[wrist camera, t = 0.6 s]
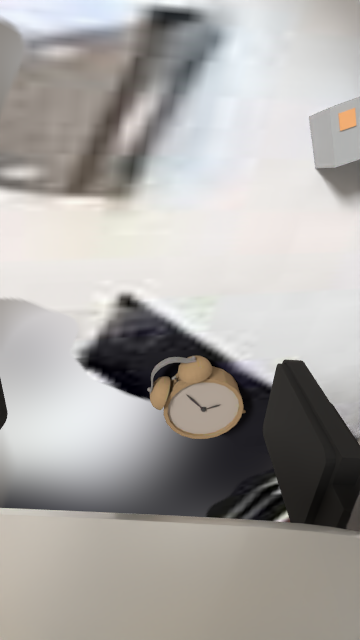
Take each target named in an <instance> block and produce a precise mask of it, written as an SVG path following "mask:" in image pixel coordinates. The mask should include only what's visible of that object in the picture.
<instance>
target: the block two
mask: <svg viewBox="0 0 360 640" xmlns="http://www.w3.org/2000/svg"><path fill="white" fill-rule="evenodd" d="M309 122H310V130H311V138H312V145H313V153H314V161H315V168H336V167H339V166H342V165H345V164H348V163H351V162H354V161H357V160H360V97H358V98H355V99H352V100H349V101H347V102H344V103H341V104H338V105H335V106H333V107H330V108H328V109H325V110H323V111H321V112H319V113H316V114H314V115H312V116H309Z"/></svg>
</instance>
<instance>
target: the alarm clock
mask: <svg viewBox="0 0 360 640" xmlns="http://www.w3.org/2000/svg"><path fill="white" fill-rule="evenodd" d="M175 362H180V363H181V364H180V365H179V368H178V373H177V374H176V375H175V376H174V377H172V379H171V380H170V377H167V376H163V377H160V378H158V379H157V380H156V381H155V382H154V384H153V377H154V375H155V373H156V372H157V371H158V370H159V369H160V368H161V367H163V366H165V365H167V364H170V363H175ZM148 391H149V392H150V401H151V403H152V405H153V407H155V408H156V409H158V410H161V409H162V408H163V407H164V416H165V419H166V422H167V424H168V425H169V426H170V427H171V429H172V430H174V431H175V432H177V433H178V434H181V435H182V436H185V437H189V438H193V439H206V438H211V437H216V436H219V435H221V434H223V433H225V432H227V431H229V430H230V429H231V428H232V427H234V426H235V425H236V424H237V422H238V421H239V419H240V418H241V415H242V413H246V411H245V410H243V402H242V397H241V395H240V392H239V389H238V385H237V383H236V381H235V380H234V378H233V377H232V376H231V375H230V374H229V373H227V372H226V371H224V370H223V369H220V368H217V367H214V366H211V364H210V362H209V361H208V360H207V359H206V358H204V357H202V356H191V357H188V358H182V357H171V358H167V359H165V360H163V361H161V362H160V363H158V364H157V365H156V366H155V368H154V369H153V371H152V374H151V388H148Z"/></svg>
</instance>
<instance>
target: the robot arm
mask: <svg viewBox="0 0 360 640" xmlns="http://www.w3.org/2000/svg"><path fill="white" fill-rule="evenodd" d="M6 419H7V408H6V404H5V398H4V394H3V389H2V384H1V379H0V429H1V428H2V426H3V425H4V423H5V421H6ZM263 435H264V439H265V442H266V445H267V449H268V452H269V455H270V458H271V461H272V464H273V468H274V471H275V474H276V477H277V480H278V483H279V487H280V490H281V493H282V496H283V499H284V502H285V506H286V509H287V512H288V515H289V518H290V522H291V523H289V522H274V521H259V520H245V519H227V518H207V517H187V516H167V515H148V514H127V513H126V514H125V513H105V512H81V511H60V510H37V509H13V508H12V509H11V508H0V640H360V445H359V444H358V442H357V441H356V439H355V438H354V436H353V435H352V433H351V432H350V430H349V429H348V427H347V425H346V424H345V422H344V421H343V419H342V418H341V416H340V415H339V413H338V412H337V410H336V409H335V407H334V406H333V405H332V404H331V403H330V402H329V400H328V399H327V397H326V396H325V394H324V392H323V391H322V389H321V388H320V386H319V385H318V383H317V382H316V380H315V379H314V377H313V376H312V374H311V373H310V371H309V369H308V368H307V366H306V365H305V363H304V362H303V361H298V360H284V361H283V363H282V364H278V365H277V367H276V372H275V376H274V380H273V385H272V389H271V393H270V398H269V402H268V407H267V411H266V415H265V420H264V424H263Z"/></svg>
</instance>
